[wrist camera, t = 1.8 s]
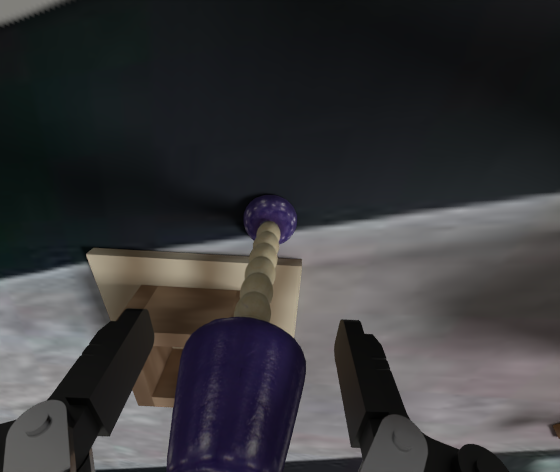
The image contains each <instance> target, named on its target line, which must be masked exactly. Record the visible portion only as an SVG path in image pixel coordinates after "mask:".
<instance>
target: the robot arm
mask: <svg viewBox="0 0 560 472" xmlns="http://www.w3.org/2000/svg"><path fill="white" fill-rule="evenodd" d="M154 338H155V336H154V330H153V326H152V323H151V319H150V315H149V311H148V310H147V309H134V308H127V309H125V310H124V312H123V313H122V314H121V316H120V317H119V319H118V320H117V321H110V322H109V323H108V324H107V325H105V326H104V327H103V328H102V329H100V330H99V331H98V332H97V334H96V335H95V336H94V338H93V339H92V340H91V342H90V343H89V346H87V347H86V349H85V350H84V351H83V353H82V356H80V357H79V358H78V359H77V361H76V362H75V364H74V365H73V366H72V368H71V369H70V370H69V372H68V373H67V374H66V376H65V377H64V379H63V380H62V381H61V383H60V384H59V385H58V387H57V388H56V389H55V391H54V392H53V394H52V395H51V396H50V397H49V398H48V399H47V401H44V402H41V403H39V404H37V405H35V406H33V407H31V408H30V409H28V410H27V411H25V412H24V413H23V414H22V415H21V416H20V417H19V418H18V419H17V420H14V421H10V422H6V423H3V424H0V472H95V467H94V459H93V452H92V448H91V447H92V445H93V443H94V441H95V439H96V438H97V436H110V434H111V432H112V430H113V428H114V426H115V424H116V422H117V420H118V418H119V416H120V414H121V412H122V410H123V408H124V406H125V403H126V401H127V399H128V397H129V395H130V393H131V391H132V389H133V387H134V385H135V383H136V381H137V379H138V377H139V375H140V373H141V371H142V369H143V366H144V364H145V362H146V360H147V358H148V356H149V354H150V352H151V350H152V348H153V344H154ZM334 355H335V362H336V367H337V373H338V378H339V384H340V389H341V394H342V400H343V405H344V411H345V416H346V422H347V427H348V433H349V438H350V443H351V447H353V448H361V453H362V458H363V461H362V464H361V466H360V469H359V471H358V472H509V471H508V469H507V468H506V466H505V465H504V464H503V463H502V462H501V461H500V459H498V458H497V457H496V456H495V455H494V454H493V453H492V452H490V451H489V450H487V449H485V448H483V447H481V446H479V445H475V444H467V445H464V446H463V447H462V448H461V449H460V450H459V449H457V448H454V447H452V446H449V445H446V444H444V443H441V442H439V441H436V440H434V439H432V438H430V437H428V436H426V435H425V434H424V433H422V432H421V431H420V429H419V428H418V427H417V426H416V425H415V424H414V423H413V422H412V421H411V420H410V418H409V417H408V415H407V413H406V410H405V408H404V405H403V402H402V399H401V397H400V394H399V391H398V389H397V386H396V383H395V380H394V378H393V375H392V372H391V371H390V367H389V364H388V361H387V360H386V356H385V353H384V350H383V348H382V345H381V344H380V343H379V342H378V340H377V339H376V338H375V337H374V335H373V334H364V331H363V328H362V325H361V322H360V321H359V320H341V321H340V324H339V328H338V332H337V336H336V340H335V346H334Z"/></svg>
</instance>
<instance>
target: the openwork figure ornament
mask: <svg viewBox="0 0 560 472" xmlns="http://www.w3.org/2000/svg"><path fill="white" fill-rule="evenodd" d="M553 428H554V430H555V432H556V434H557V436H558V438H559V439H560V423H559V424H555V425H553Z"/></svg>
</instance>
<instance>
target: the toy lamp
mask: <svg viewBox="0 0 560 472" xmlns="http://www.w3.org/2000/svg"><path fill="white" fill-rule="evenodd" d="M296 225H297V215H296V212H295V210H294V208H293V206H292V205H291V204H290V203H289V202H288V201H287V200H286V199H284V198H282V197H279V196H276V195H263V196H260V197H257V198H255V199H254V200H252V201H251V202H250V203H249V204H248V206H247V207H246V210H245V212H244V226H245V229H246V231H247V233H248V235H249V236H250V237H251V238H252V239H253V240H254V243H253V250H252V251H251V253H250V256H249V264H248V265H247V267H246V270H245V276H244V277H245V280H244V282H243V283H242V286H241V289H240V300H239V301H238V303H237V305H236V307H235V311H234V317H229V318H220V319H215V320H213V321H211V322H209V323H207V324H205V325H203V326H201V327H199V328H198V329H197V330H196V331H195V332H193V333H192V334H191V336H190V337H189V339H188V340H187V341H186V343H185V346H184V348H183V351H182V354H181V358H180V365H179V371H178V378H177V385H176V392H175V400H174V407H173V413H172V423H171V431H170V439H169V447H168V455H167V472H283V469H284V465H285V460H286V456H287V453H288V449H289V445H290V440H291V437H292V433H293V429H294V424H295V420H296V416H297V412H298V408H299V403H300V399H301V395H302V391H303V386H304V381H305V374H306V360H305V357H304V354H303V351H302V349H301V347H300V346H299V345H298V343H297V342H296V340H295V339H294V338H293V337H292V336H291V335H290V334H288V333H287V332H285V331H284V330H283V329H281V328H280V327H278V326H276V325H274V324H272V323H270V319H271V308H270V303H271V301H272V298H273V283H274V280H275V274H276V272H275V267H276V265H277V260H278V256H277V253H278V250H279V244H282V243H284V242H285V241H287V240H288V239H289V238H290V237H291V236H292V234H293V233H294V231H295V229H296Z"/></svg>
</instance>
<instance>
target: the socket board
mask: <svg viewBox="0 0 560 472" xmlns="http://www.w3.org/2000/svg"><path fill="white" fill-rule="evenodd" d="M86 256H87V259H88V262H89V264H90V267H91V270H92V272H93V275H94V278H95V280H96V283H97V286H98V288H99V291H100V294H101V296H102V299H103V302H104V304H105V307H106V310H107V312H108V315H109V318H110V320H111V321H117V320H118V319H119V317H120V316H121V314H122V313H123V312H124V310H125V309H127V308H134V309H147V310H148V311H149V315H150V319H151V323H152V326H153V330H154V336H155V338H154V344H153V348H152V350H151V352H150V354H149V356H148V358H147V360H146V362H145V364H144V366H143V369H142V371H141V373H140V375H139V377H138V379H137V381H136V383H135V385H134V387H133V389H132V390H133V393H134V395H135V398H136V400H137V403H138V406H156V407H174V400H175V392H176V385H177V378H178V371H179V365H180V358H181V354H182V351H183V348H184V346H185V343H186V341H187V340H188V339H189V337H190V336H191V334H192V333H193V332H195V331H196V330H197V329H198V328H199V327H201V326H203V325H205V324H207V323H209V322H211V321H213V320H215V319H220V318H229V317H234V311H235V307H236V305H237V303H238V301H239V300H240V289H241V286H242V283H243V282H244V280H245V277H244V276H245V270H246V267H247V265H248V264H249V257H248V256H231V255H213V254H195V253H177V252H159V251H141V250H123V249H105V248H93V249H91V250H90V251H89V252H88V253H87V254H86ZM301 271H302V259H284V258H278V260H277V265H276V267H275V272H276V274H275V280H274V283H273V298H272V301H271V303H270V308H271V319H270V323H272V324H274V325H276V326H278V327H280V328H281V329H283V330H284V331H285V332H287V333H288V334H290V335H291V336H292V337H293V338H294V333H295V325H296V316H297V307H298V298H299V289H300V280H301Z"/></svg>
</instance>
